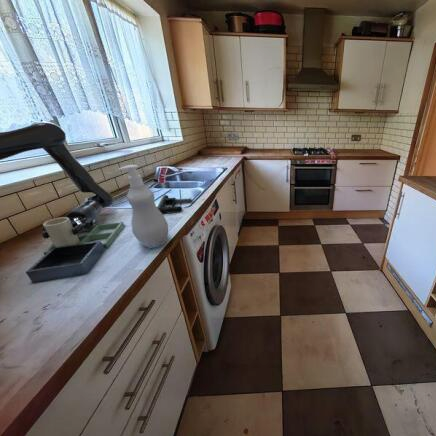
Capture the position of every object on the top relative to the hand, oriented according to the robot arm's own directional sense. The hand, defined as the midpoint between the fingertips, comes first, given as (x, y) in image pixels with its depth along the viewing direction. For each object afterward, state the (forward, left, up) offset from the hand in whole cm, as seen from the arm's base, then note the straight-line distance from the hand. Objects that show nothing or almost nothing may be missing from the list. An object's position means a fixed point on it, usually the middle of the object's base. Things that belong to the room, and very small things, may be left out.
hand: (59, 234), depth 80 cm
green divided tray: (+4, +6, -7) cm, 10 cm away
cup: (0, +2, -7) cm, 7 cm away
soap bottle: (+29, -3, -7) cm, 30 cm away
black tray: (+6, -11, -7) cm, 14 cm away
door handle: (+31, +33, -7) cm, 46 cm away
